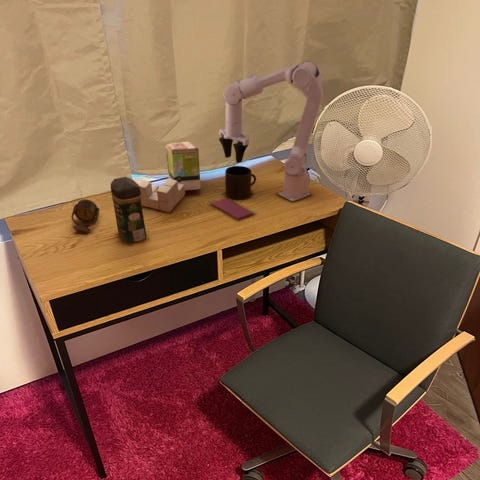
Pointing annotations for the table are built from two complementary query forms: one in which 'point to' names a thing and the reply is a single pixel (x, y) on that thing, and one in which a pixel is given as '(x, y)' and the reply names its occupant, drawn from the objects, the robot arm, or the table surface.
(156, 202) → the puzzle cube
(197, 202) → the table surface
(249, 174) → the mug
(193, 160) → the tea box
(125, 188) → the coffee jar
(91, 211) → the dark brown rounded piece
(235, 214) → the cloth
